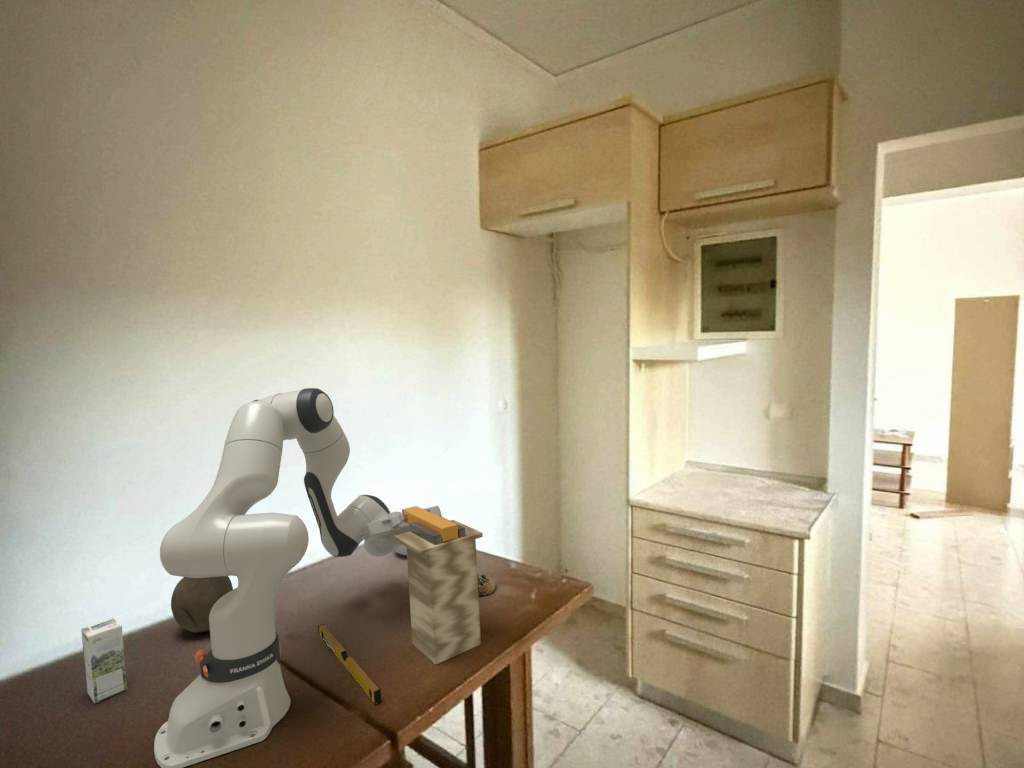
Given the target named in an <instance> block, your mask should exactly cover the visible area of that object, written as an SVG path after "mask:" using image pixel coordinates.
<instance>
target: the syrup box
mask: <svg viewBox="0 0 1024 768" xmlns="http://www.w3.org/2000/svg"><path fill="white" fill-rule="evenodd" d="M80 629H81V642H82V651H83V653H82V654H83V662H84V673H85V683H86V684H85V685H86V692H87V695H88V696H89V698H90V699H91V701H92V702H93V704H97V703H100V702H102V701H104V700H107V699H109V698H111V697H113V696H116V695H117V694H120V693H122V692H124V691H127V690H128V683H127V672H126V671H127V670H126V663H125V662H126V661H125V649H124V636H123V626H122V625H121V624H120V623H119V622H118V620H117V619H116V618H115V617H111V618H108V619H105V620H103V621H100V622H97V623H94V624H90V625H88V626H84V627H82V628H80Z"/></svg>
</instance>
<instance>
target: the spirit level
mask: <svg viewBox="0 0 1024 768" xmlns="http://www.w3.org/2000/svg"><path fill="white" fill-rule="evenodd" d="M317 630H318V636H319V635H320V636H321V637H322V638H324V639H325V640H326V641H327V643H328V644H329V645H330V646H331V647H332V648H333V649H334V650H335V654H336V655H337V657H339V659H340V660H341V661H342V663H343V664H344V665H345V666H346V668H347V669H348V670H349V671H350V673H351V674H352V676H353V677H354V678H355V679H356V680H355V679H354V678H353V677H352V678H353V679H354V680H355V682H356V681H357V682H358V683H359V684H360V685H359V684H358V683H357V682H356V683H357V684H358V685H359V686H361V687H362V688H363V689H364V690H363V689H362V688H361V687H360V688H361V689H362V690H363V691H365V692H366V693H367V694H366V693H365V692H364V693H365V694H366V695H367V697H368V698H369V697H370V698H371V699H372V700H371V699H370V698H369V699H370V700H371V702H372V703H373V702H374V703H375V704H374V703H373V704H374V706H376V705H377V704H376V703H378V702H381V703H382V693H381V692H382V690H381V688H379V687H378V686H377V685H376V684H375V683H374V681H372V679H371V678H370V676H368V675H367V673H366V672H365V671H364V670H363V668H362V667H360V665H359V664H358V663H357V662H356V661H355V659H354V658H353V657H352V656H351V655H350V656H348V654H347V650H346V649H345V648H344V646H342V644H341V643H340V642H339V641H338V640H337V639H336V637H334V635H333V634H332V632H331V631H330V630H328V627H326V626H325V624H324V623H322V624H319V625H318V626H317ZM321 637H320V638H321ZM337 657H336V658H337ZM342 663H341V664H342ZM346 668H345V669H346ZM347 669H346V670H347ZM350 673H349V674H350ZM351 674H350V675H351ZM378 704H379V703H378Z"/></svg>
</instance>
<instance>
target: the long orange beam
mask: <svg viewBox="0 0 1024 768" xmlns="http://www.w3.org/2000/svg"><path fill="white" fill-rule="evenodd" d="M401 512H402V514H403V513H406V514H407V518H408V520H406V521H405V523H407V524H409V523H413V522H417V523H419V524H421V525H423V526H425V527H427V528H429V529H431V530H433V531H435V532H437V533H439V534H441V541H442V542H445V541H448V540H452V539H455V538H458V525H457V524H455V523H453V522H451V520H450V519H448V520H446V519H447V518H445V517H443V516H442V517H443V518H442V517H440V516H437V515H435V514H433V513H431V512H429V511H426V510H424V508H422V507H419V506H417V505H414V506H411V507H407V508H402V509H401ZM444 518H445V519H444ZM449 520H450V521H449Z"/></svg>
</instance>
